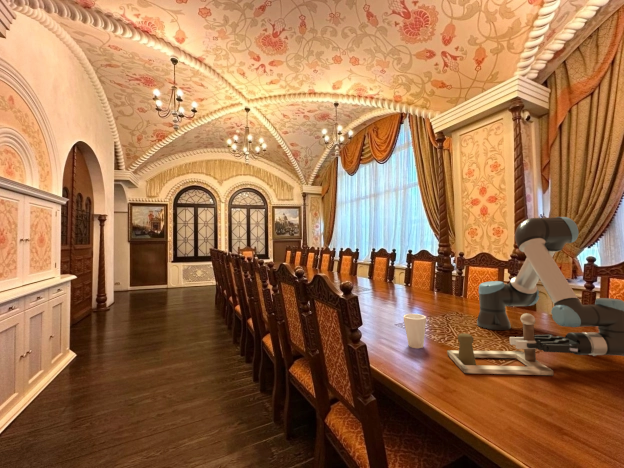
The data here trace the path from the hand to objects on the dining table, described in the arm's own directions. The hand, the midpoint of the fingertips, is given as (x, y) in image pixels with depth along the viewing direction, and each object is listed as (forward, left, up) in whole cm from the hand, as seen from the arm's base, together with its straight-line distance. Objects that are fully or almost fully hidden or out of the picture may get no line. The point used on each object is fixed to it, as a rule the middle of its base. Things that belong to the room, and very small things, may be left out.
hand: (513, 342), depth 104 cm
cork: (-8, -14, -8) cm, 18 cm away
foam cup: (-31, -18, -8) cm, 37 cm away
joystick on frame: (-3, -6, -8) cm, 10 cm away
